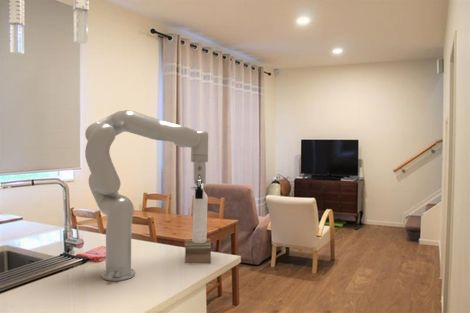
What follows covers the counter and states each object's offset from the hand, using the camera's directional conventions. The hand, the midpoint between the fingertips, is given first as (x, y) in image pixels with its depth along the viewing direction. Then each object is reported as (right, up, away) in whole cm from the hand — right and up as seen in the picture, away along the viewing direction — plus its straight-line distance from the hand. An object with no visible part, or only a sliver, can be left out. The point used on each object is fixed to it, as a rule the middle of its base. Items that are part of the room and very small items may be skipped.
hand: (198, 197), depth 171 cm
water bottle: (-1, -20, 0) cm, 20 cm away
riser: (-1, -28, +1) cm, 28 cm away
